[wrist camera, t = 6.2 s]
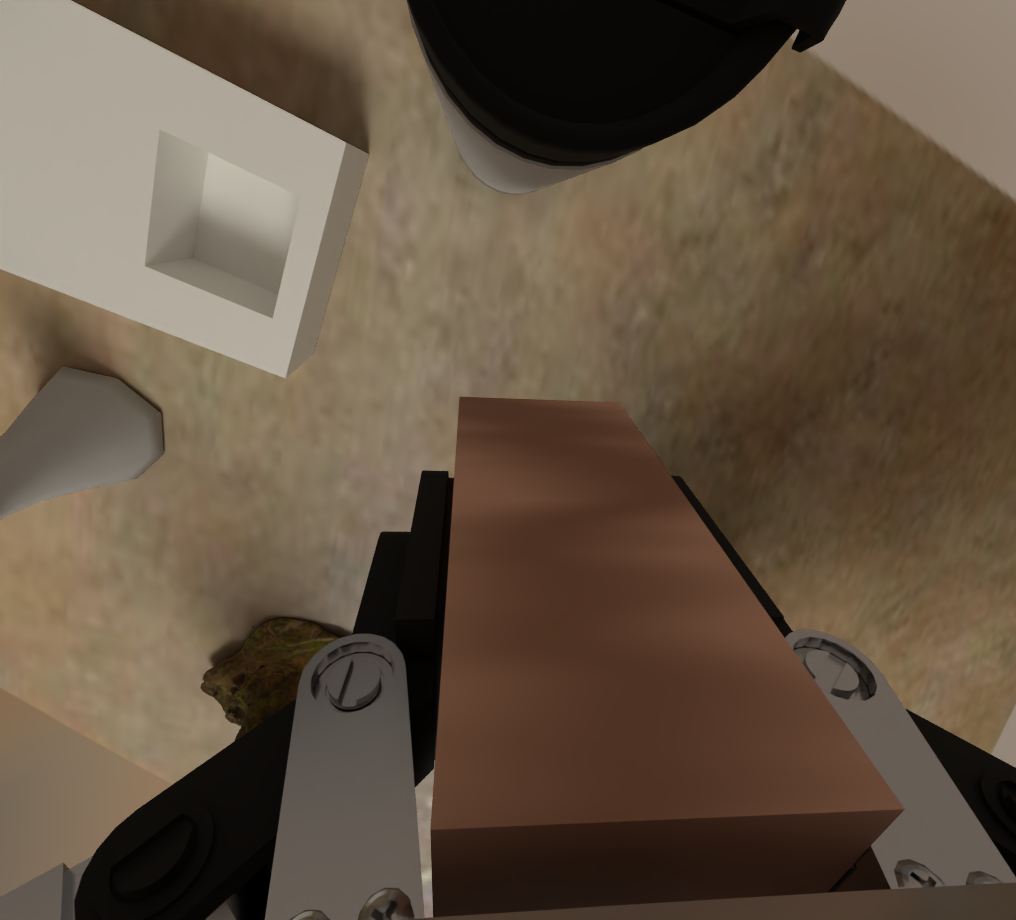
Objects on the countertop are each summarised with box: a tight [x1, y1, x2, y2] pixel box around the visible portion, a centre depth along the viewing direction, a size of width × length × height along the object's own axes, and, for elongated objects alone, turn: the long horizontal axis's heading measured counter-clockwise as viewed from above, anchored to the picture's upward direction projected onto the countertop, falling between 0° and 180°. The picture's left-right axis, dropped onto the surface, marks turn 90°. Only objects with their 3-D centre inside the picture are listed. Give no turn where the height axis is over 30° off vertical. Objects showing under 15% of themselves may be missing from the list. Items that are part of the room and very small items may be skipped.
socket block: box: [0, 0, 369, 378], centre depth 22 cm, size 15×11×4 cm
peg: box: [431, 397, 905, 917], centre depth 9 cm, size 4×4×9 cm
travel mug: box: [407, 0, 846, 194], centre depth 14 cm, size 6×7×20 cm
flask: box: [0, 366, 164, 520], centre depth 25 cm, size 7×7×10 cm
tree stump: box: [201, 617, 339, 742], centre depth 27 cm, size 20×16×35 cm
